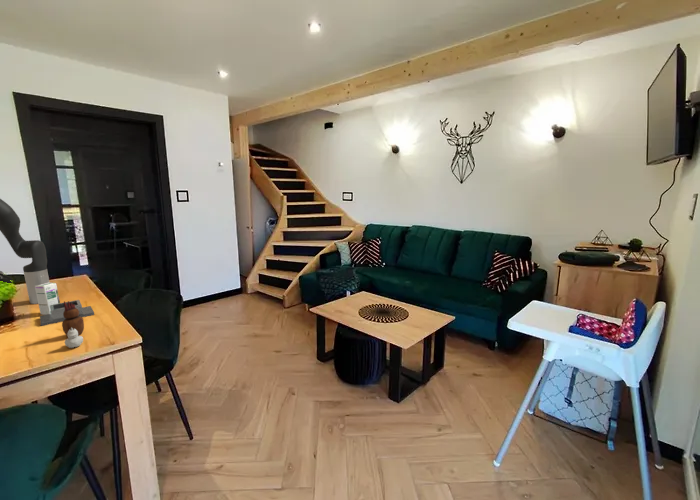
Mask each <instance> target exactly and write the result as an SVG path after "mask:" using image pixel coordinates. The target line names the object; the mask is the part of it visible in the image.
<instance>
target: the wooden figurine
mask: <svg viewBox="0 0 700 500" xmlns="http://www.w3.org/2000/svg"><path fill="white" fill-rule="evenodd" d="M65 302H66V301H63V303H64V307H65V311H64V313H63V316H64V318H66V319H65V320H64V321H63V322H61V328H62V330H63V333H64V335H66V336H67V337H68V335H67V333H68V331H69V329H70V330H71V327H72V328H73V330H74V328H75V329H76V330H77V331H78V336H81V335H82V334H83V332H84V329H85V321H84V317H80V316H78V315H79V310H78V309H77V308H75V305H74V304H73V305H72V303H69V301H67V302H68V306H67V304H66V303H65Z"/></svg>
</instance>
